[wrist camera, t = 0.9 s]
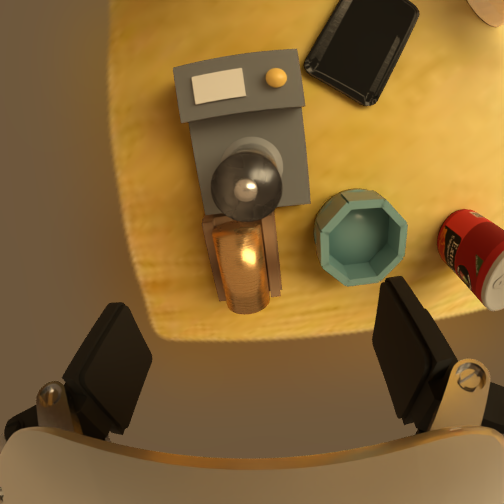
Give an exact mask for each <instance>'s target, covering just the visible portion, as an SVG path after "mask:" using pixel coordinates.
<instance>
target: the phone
mask: <svg viewBox="0 0 504 504" xmlns="http://www.w3.org/2000/svg"><path fill="white" fill-rule="evenodd" d="M418 17H419V10H418V8H417V7H416V6H415V5H414V4H413V3H411V2H410V1H409V0H340V1H339V3H338V5H337V6H336V8H335V10H334V11H333V13H332V15H331V16H330V18H329V20H328V21H327V23H326V25H325V27H324V28H323V30H322V32H321V33H320V35H319V37H318V39H317V40H316V42H315V44H314V46H313V48H312V49H311V51H310V53H309V55H308V56H307V58H306V60H305V63H304V68H305V71H306V72H307V73H308V74H309V75H311V76H312V77H314V78H316V79H318V80H320V81H322V82H324V83H325V84H327V85H329V86H331V87H333V88H334V89H336V90H338V91H340V92H341V93H343V94H345V95H346V96H348V97H350V98H351V99H353V100H354V101H356V102H358V103H359V104H361V105H363V106H371V105H374V104H375V103H376V102H377V101H378V99H379V97H380V95H381V93H382V91H383V89H384V87H385V85H386V83H387V81H388V79H389V77H390V75H391V73H392V71H393V69H394V67H395V65H396V63H397V61H398V59H399V57H400V55H401V53H402V51H403V49H404V47H405V45H406V43H407V41H408V39H409V37H410V34H411V32H412V30H413V28H414V26H415V24H416V22H417V20H418Z"/></svg>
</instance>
